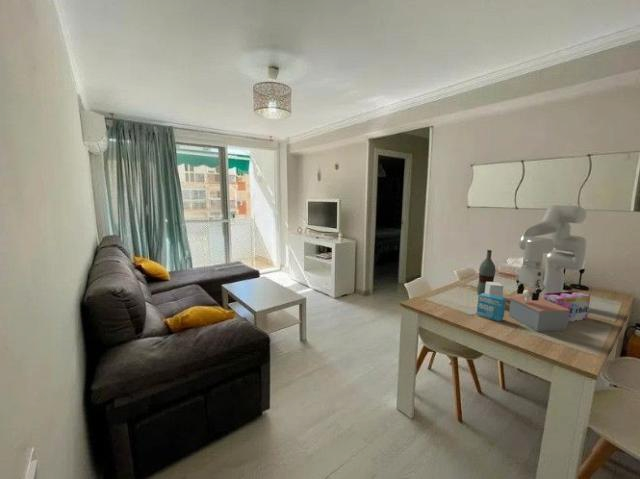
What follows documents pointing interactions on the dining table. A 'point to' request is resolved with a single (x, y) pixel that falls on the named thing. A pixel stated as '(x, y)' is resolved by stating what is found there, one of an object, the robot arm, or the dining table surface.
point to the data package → (491, 307)
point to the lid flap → (538, 303)
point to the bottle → (486, 273)
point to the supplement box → (494, 289)
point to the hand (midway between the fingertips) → (527, 296)
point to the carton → (538, 318)
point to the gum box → (571, 303)
